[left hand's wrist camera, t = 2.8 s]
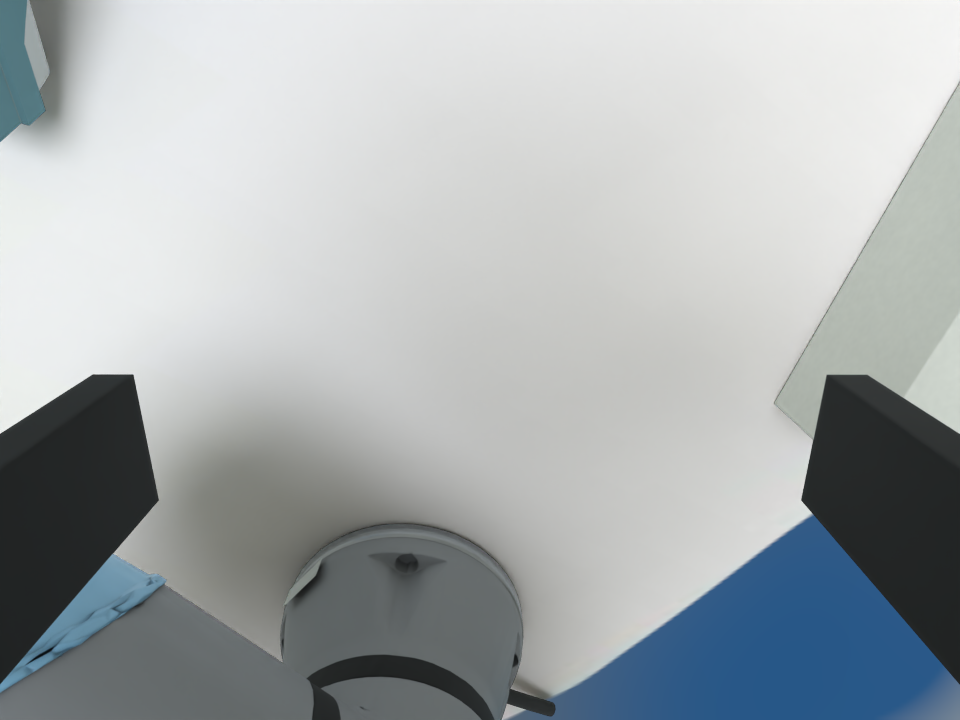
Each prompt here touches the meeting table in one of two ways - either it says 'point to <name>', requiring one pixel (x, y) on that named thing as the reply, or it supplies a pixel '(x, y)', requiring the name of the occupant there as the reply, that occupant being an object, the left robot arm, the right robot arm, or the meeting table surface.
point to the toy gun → (20, 66)
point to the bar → (899, 296)
